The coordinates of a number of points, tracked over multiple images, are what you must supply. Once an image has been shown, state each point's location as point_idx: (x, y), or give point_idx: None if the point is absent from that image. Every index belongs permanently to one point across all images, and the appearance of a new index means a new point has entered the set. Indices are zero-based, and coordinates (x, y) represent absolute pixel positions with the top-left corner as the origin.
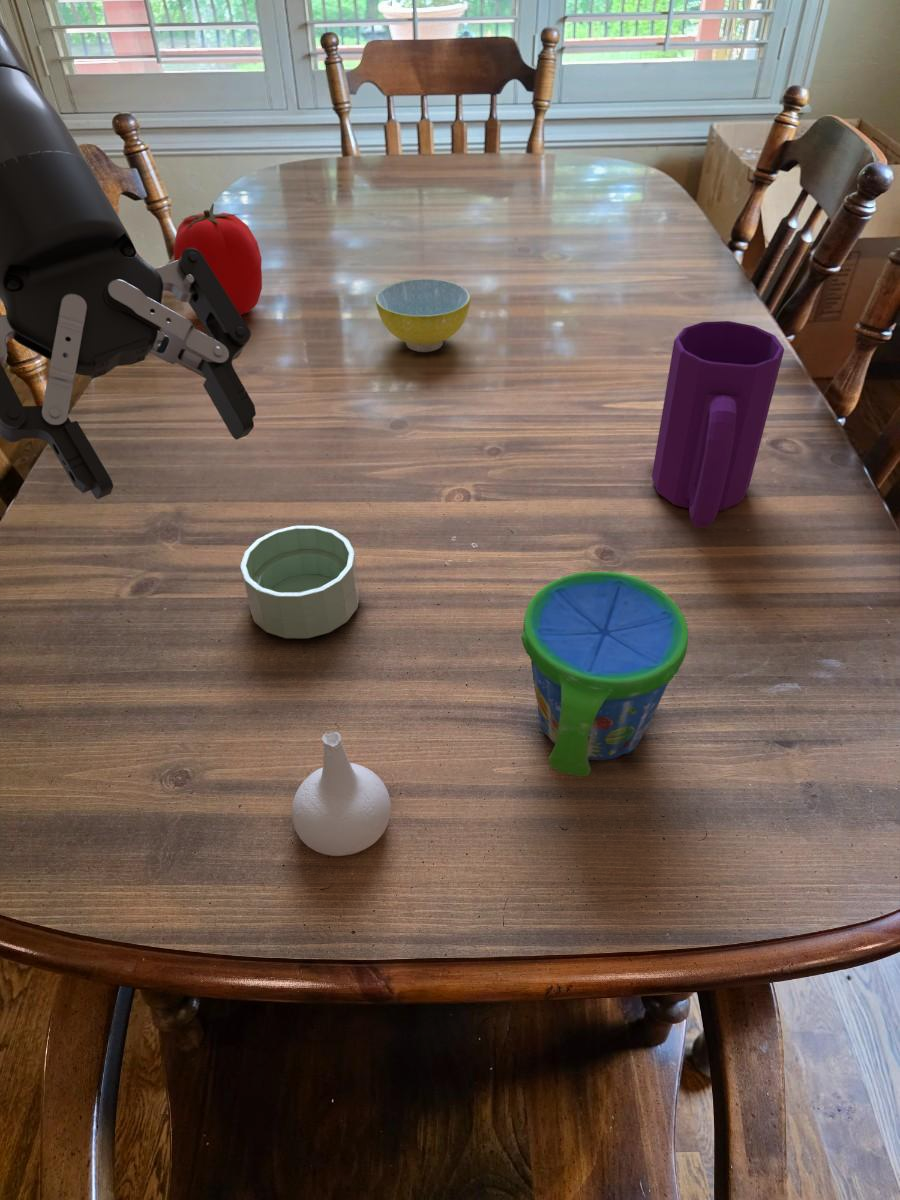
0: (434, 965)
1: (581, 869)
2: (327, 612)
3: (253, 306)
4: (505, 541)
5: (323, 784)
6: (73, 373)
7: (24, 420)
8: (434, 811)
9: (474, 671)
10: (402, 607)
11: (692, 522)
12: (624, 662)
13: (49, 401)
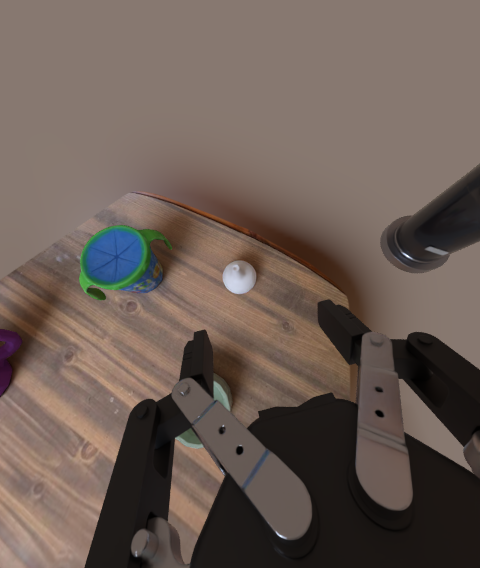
0: (236, 229)
1: (185, 234)
2: None
3: None
4: (97, 393)
5: (243, 271)
6: (363, 366)
7: (408, 336)
8: (212, 270)
9: (164, 319)
10: (167, 373)
11: (21, 342)
12: (123, 237)
13: (385, 351)
